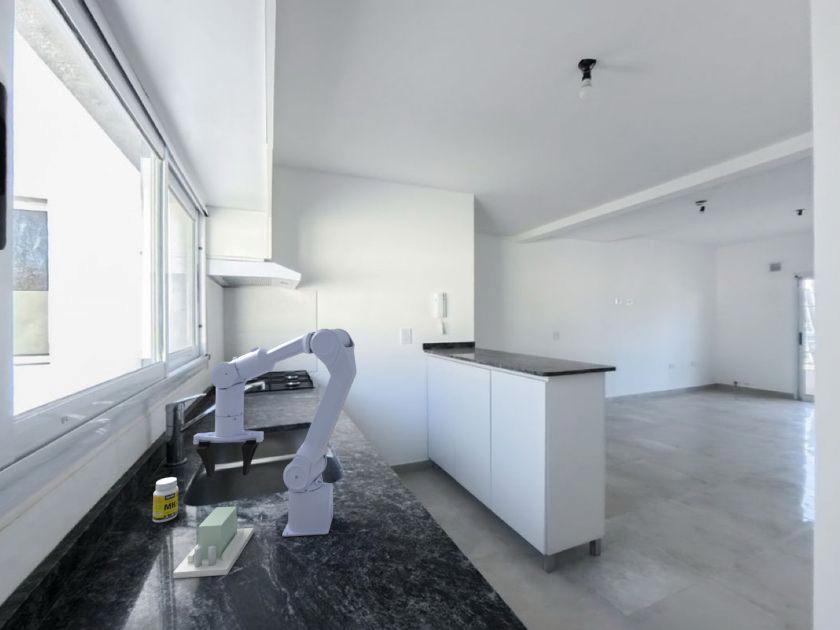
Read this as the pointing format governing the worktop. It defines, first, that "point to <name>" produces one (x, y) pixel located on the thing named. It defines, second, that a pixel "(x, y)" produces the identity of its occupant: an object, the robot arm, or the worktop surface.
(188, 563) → the tray
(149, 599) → the worktop surface
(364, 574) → the worktop surface
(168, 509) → the supplement bottle
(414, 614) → the worktop surface
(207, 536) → the block
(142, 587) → the worktop surface
